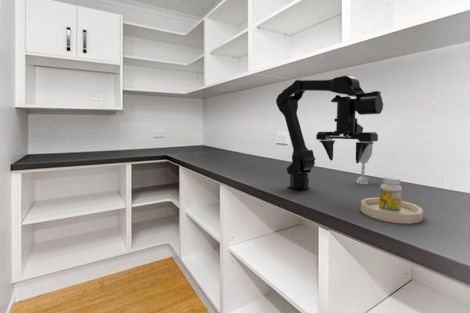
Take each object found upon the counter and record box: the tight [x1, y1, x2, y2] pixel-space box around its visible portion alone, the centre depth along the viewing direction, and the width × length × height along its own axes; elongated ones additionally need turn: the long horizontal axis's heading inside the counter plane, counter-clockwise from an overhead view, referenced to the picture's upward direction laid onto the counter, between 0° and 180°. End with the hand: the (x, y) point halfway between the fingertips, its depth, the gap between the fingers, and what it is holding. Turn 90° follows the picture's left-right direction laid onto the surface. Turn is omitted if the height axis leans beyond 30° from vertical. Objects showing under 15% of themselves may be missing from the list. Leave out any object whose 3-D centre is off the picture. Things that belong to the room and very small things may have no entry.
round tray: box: [360, 197, 424, 225], centre depth 72 cm, size 15×15×2 cm
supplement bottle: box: [379, 176, 403, 213], centre depth 72 cm, size 5×5×10 cm
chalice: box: [355, 141, 375, 185], centre depth 109 cm, size 7×7×18 cm
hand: (343, 161), depth 85 cm, fingers open, 9 cm apart
